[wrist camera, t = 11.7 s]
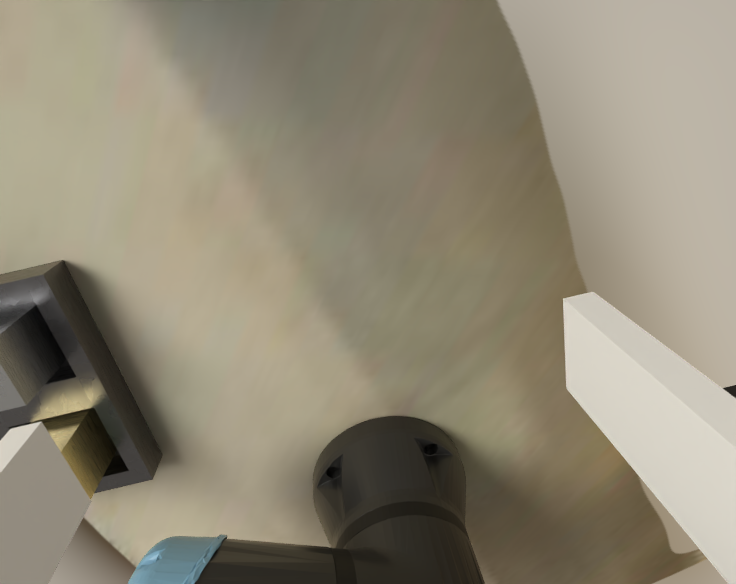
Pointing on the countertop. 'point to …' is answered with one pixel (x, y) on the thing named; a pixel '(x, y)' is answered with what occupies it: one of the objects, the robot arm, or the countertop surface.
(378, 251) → the countertop surface
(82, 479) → the yellow block
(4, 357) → the grey block
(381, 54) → the countertop surface
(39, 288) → the dark grey tray
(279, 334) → the countertop surface
